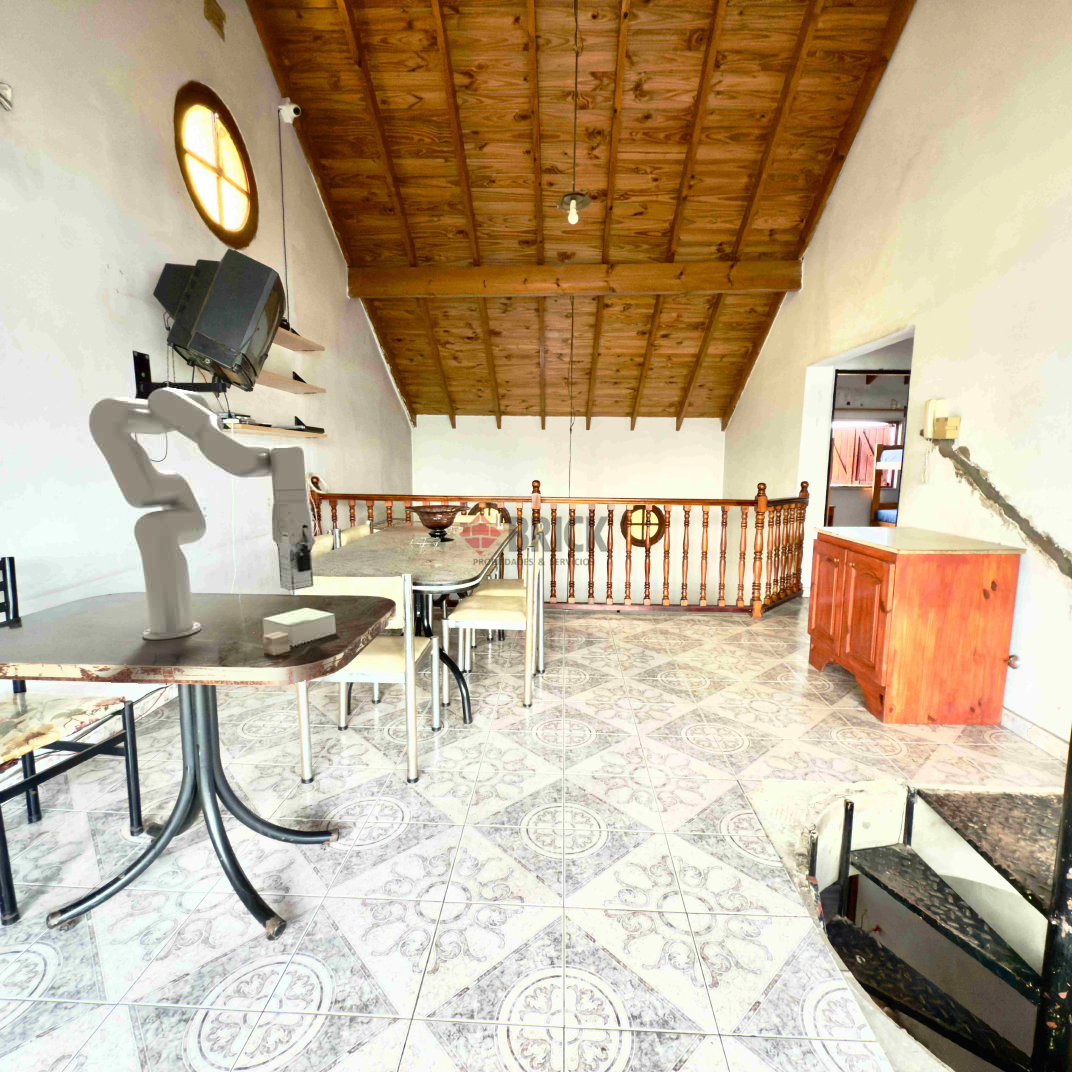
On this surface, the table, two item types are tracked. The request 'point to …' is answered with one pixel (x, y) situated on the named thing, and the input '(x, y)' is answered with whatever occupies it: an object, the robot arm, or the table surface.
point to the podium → (301, 625)
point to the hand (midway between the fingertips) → (296, 569)
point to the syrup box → (292, 566)
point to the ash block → (276, 643)
